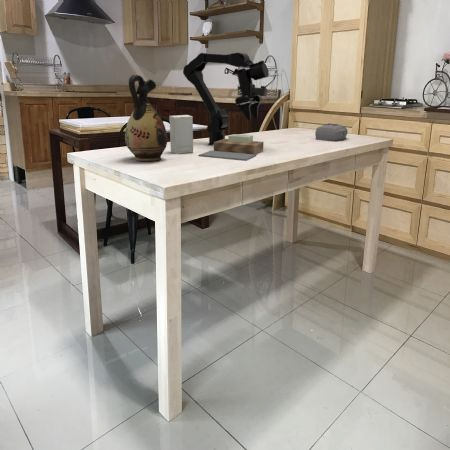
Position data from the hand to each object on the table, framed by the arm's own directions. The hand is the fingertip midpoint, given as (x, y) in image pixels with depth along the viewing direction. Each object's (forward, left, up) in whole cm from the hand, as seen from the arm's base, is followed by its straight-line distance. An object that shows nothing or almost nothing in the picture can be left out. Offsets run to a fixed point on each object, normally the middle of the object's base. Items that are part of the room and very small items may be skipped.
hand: (252, 119), depth 184 cm
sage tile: (-2, -9, -8) cm, 13 cm away
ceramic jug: (-26, -46, -13) cm, 55 cm away
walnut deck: (-2, -11, -12) cm, 17 cm away
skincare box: (-22, -25, -13) cm, 36 cm away
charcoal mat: (-2, -23, -12) cm, 27 cm away
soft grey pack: (+27, +53, -13) cm, 61 cm away
